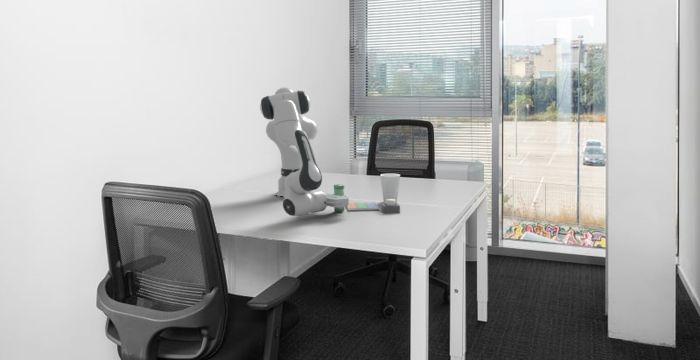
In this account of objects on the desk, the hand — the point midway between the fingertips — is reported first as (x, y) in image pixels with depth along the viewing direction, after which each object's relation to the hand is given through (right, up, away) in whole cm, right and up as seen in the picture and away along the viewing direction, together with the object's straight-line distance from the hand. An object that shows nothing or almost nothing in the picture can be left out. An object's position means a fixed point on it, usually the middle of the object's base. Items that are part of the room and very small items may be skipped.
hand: (340, 196), depth 238 cm
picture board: (+10, -5, +9) cm, 14 cm away
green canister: (-1, -6, 0) cm, 6 cm away
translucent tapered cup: (+23, -3, +21) cm, 32 cm away
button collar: (+22, -6, +1) cm, 23 cm away
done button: (+22, -5, +1) cm, 22 cm away
